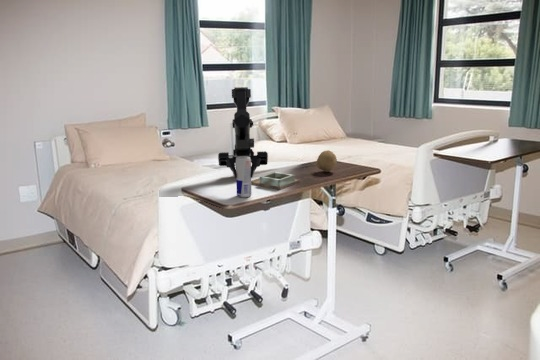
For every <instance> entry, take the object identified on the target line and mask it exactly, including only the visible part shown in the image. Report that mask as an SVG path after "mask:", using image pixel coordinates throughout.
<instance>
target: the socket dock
mask: <svg viewBox="0 0 540 360" xmlns="http://www.w3.org/2000/svg"><path fill="white" fill-rule="evenodd" d="M295 176H296V175H295V174H290V173H285V172H278V171H277V172H276V171H273V172H269V173H267V174H264V175H261V176H259V177H258V178H255V179H253V180H252V179H251V186H252V185H253V186H258V187H263V188H264V187H265V188H269V189H276V190H283V189H285V187H286V188H288V187H290V186H291V187H292V186H294V185H296V184H298V183H300V179H297V178H296V177H295Z"/></svg>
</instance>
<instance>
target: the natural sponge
mask: <svg viewBox="0 0 540 360" xmlns="http://www.w3.org/2000/svg"><path fill="white" fill-rule="evenodd" d="M337 163H338V159H337V156H336V154H335V153H334V152H333V151H331V150H330V149H329V150H323V151H322V152H320V154H319V155H318V157H317V159H316V163H315V165H316V167H317V168H318V169H319V170H321V171H322V172H324V173H328V172H330V171H331V170H333V169H334V168H335V167H336V165H337Z"/></svg>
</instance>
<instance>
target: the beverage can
mask: <svg viewBox="0 0 540 360" xmlns="http://www.w3.org/2000/svg"><path fill="white" fill-rule="evenodd" d="M251 167H252V163H251V159H250V157H246V156H242V157H237V158H236V163H235V169H236V178H235V179H236V182H235V183H236V197H238V198H242V199H243V198H250V197H251V196H252V184H251V181H252V178H251Z"/></svg>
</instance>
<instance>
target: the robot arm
mask: <svg viewBox="0 0 540 360" xmlns="http://www.w3.org/2000/svg"><path fill="white" fill-rule="evenodd" d="M231 98H232V99H233V104H234V105H235V107H236V112H234V117H233V119H232V129H234V136H235V137H234V140H235V144H234V148H233V149H232V150H233V151H232V153H233V154H230V153H229V151H228V152H227V151H226V152H219V153H218V155H217V156H218V157H217V159H218V166H219V167H226V168H228V169H230V171H231V172H232V175H233V176H234V179H236V158H237V157H242V156H246V157H250V159H251V179H253V177H254V174H255V172H256V169H257V168H258V167H260V166H266V165H268V160H269V159H268V158H269V155H268V154H269V152H267V151H257V152H256V154H255V152H254V150H253V149H254V148H255V138H251V134H250V131H251V129H252V127H253V126H254V121H253V120H252V118H250V117H251V116H250V113H249V112H248V111H247V108H248V105H249V103H250V99H251V98H252V89H250V88H248V86H247V87H242V86H241V87H239V86H238V87H237V86H236V87H234V89H233V88H232V89H231Z"/></svg>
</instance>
